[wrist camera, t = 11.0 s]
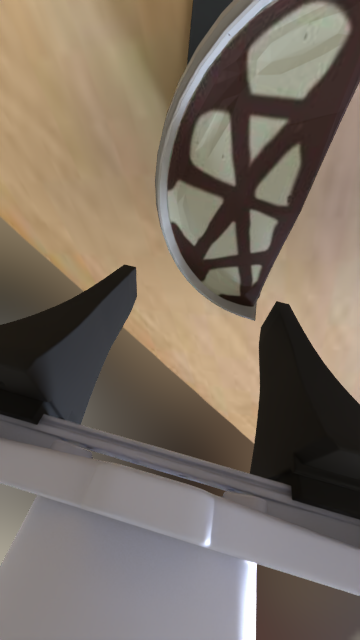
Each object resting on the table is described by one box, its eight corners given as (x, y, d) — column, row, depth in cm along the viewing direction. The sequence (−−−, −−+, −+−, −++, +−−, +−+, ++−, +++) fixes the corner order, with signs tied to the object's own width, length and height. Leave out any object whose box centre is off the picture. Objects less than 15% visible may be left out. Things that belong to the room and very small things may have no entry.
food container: (211, -35, 11) (136, -175, 4) (348, -19, 11) (492, -147, 4) (182, 222, 20) (144, 301, 14) (255, 237, 20) (251, 327, 13)
